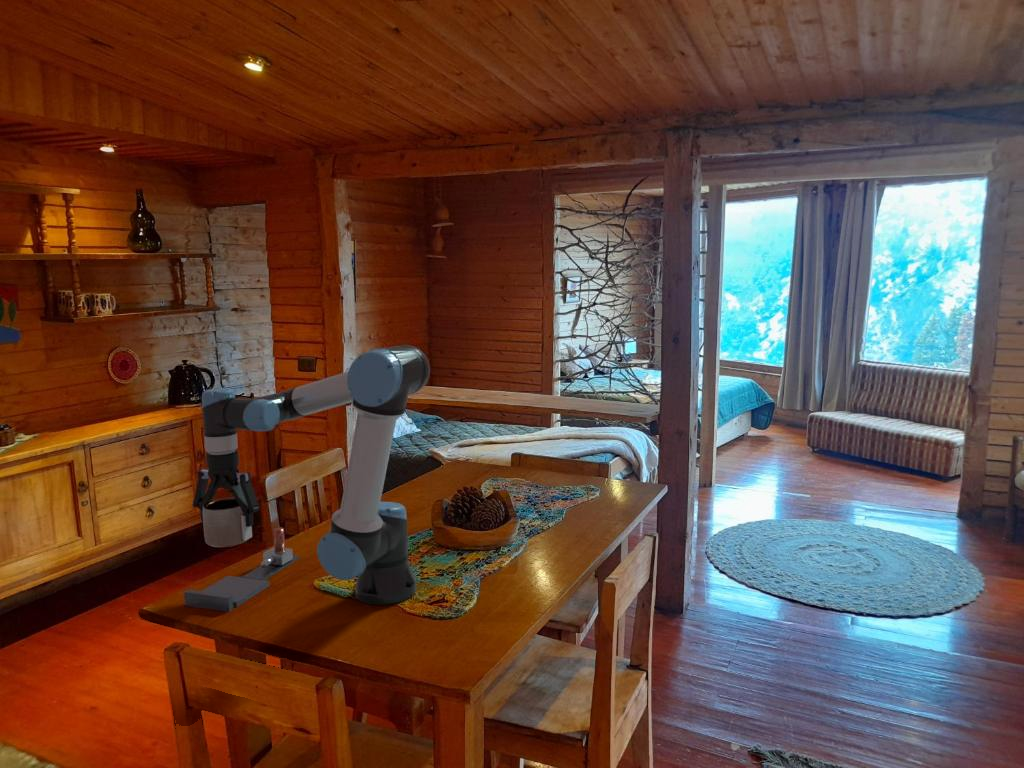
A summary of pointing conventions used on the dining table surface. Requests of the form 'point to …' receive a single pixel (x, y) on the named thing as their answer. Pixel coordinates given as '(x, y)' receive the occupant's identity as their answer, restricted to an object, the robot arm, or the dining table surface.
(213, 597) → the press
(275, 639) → the dining table surface
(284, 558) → the pink cylinder stand
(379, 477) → the robot arm
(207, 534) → the planter
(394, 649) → the dining table surface
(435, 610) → the dining table surface
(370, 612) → the dining table surface
